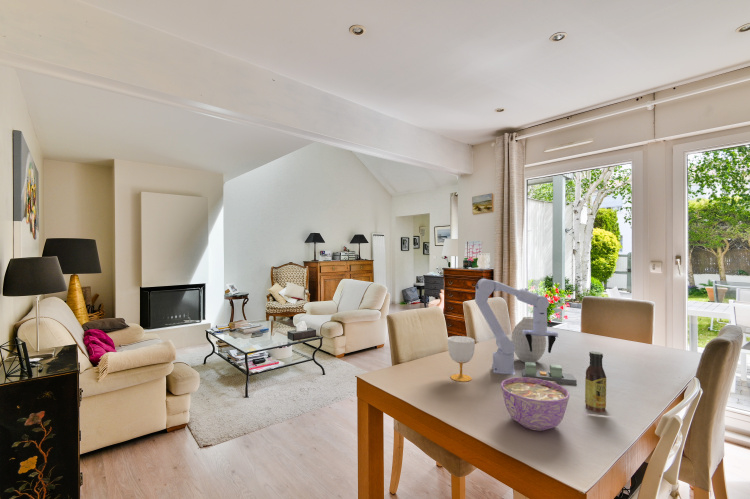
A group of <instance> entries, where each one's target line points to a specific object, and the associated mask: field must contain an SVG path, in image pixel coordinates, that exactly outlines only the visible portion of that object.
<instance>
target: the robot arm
mask: <svg viewBox="0 0 750 499" xmlns="http://www.w3.org/2000/svg"><path fill="white" fill-rule="evenodd" d="M500 291H501V292H504V293H507V294H509V295H512V296H514V297H516V299H517V301H520V302H522V303H525V304H527V305H530V306H532V307H533V308H532V309H533V310H532V317H533V330H523V335H525V336H526V338H527V341H528V343H529V347H530V351H531V352H532V336H531V335H536V336H545V337H547V340H548V343H547V344H548V346H547V352H548V353H549V354H551V353H552V348H553V345H554V343H555V342H556V340H557V339H556V338H559V333H558V331H550V330H549V331H548V309H547V308H548V307H549V306H550V302H549V299H547V297H546V296H543V295H540V294H539V293H538V292H533V291H530V290H529V289H528V288H520V289H517V288H514V287H512V286H509V285H507V284H505V283H503V282H500V281H496V280H492V279H487V278H481V279H479V280H478V281H477V282H476V285H475V296H474V297H475V298H474V302H475V304H476V306H477V307H478V309H479V311H480V313H481V314H482V316H483V317H484V320H485V322H486V323H487V325H488V327H489V329H490V330H491V332H492V334H493V337H494V339H495V344H496V346H497V350H496V351H492V364H491V368H492V372H493V374H503V375H512V376H514V375H516V371H515V356H514V355H515V352H514V351H515V345H514V343H513V342H512V341H511V340H510V339H509V337H508V336H507V333H505V331H504V329H503V327H502V326H501V324H500V322H499V320H498V319H497V317H496V315H495V314H494V312H493V309H492V307H491V306H490V305H489V302H488V300H489V299H490V298H489V297H490V295H492V293H493V292H495V293H496V292H500Z"/></svg>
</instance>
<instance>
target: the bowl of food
mask: <svg viewBox="0 0 750 499" xmlns="http://www.w3.org/2000/svg"><path fill="white" fill-rule="evenodd" d="M500 383H501V384H500V387H501V391H502V396H503V401H504V404H505V407H506V411H507V412H508V414H509V415H510V417H511V418H512V419H513V420H514V421H515V422H517V423H518V424H520V425H521V426H523V427H524V428H526V429H528V430H533V431H539V432H541V431H547V430H550V429H553V428H555V427H558V426H559V424H561V423H562V421H563V420H564V416H565V414H566V411H567V407H568V403H569V399H570V392H569V390H567V389H566V388H565V387H563V386H561V385H560V384H559V383H557V384H555V383H552V382H549V381H546V380H541V379H536V378H526V377H523V376H522V377H520V376H519V377H510V378H506V379H504V380H502V382H500Z"/></svg>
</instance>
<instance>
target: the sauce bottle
mask: <svg viewBox="0 0 750 499" xmlns="http://www.w3.org/2000/svg"><path fill="white" fill-rule="evenodd" d="M588 355H589V365H588V366H587V368H586V370H585V384H584V386H585V388H584V389H585V390H584V391H585V392H584V403H585V408H586V409H588V410H589V411H592V412H595V413H597V412H598V413H604V412H605V411H606V408H607V376H606V372H605V370H604V367H603V357H604V354H603V353H602V352H600V351H599V352H598V351H594V350H593V351H589V354H588Z"/></svg>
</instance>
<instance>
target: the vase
mask: <svg viewBox="0 0 750 499" xmlns="http://www.w3.org/2000/svg"><path fill="white" fill-rule="evenodd" d="M523 330H533V316H523V317H522V319H521V320H520V321H519V322H517V324H516V325H515V326H514V328H513V330H512V332H511V336H510V339H511V340H510V341H512V342H513V343H514V345H515V351H514V355H515V356H516V357H517V358H518V359H519V360H520V361H521V362H522V363H524V364H525V362H532V363H535V364H536V363H537V362H538V361H540V359H541V358H542V357H543V356H544V354H545V351H546V347H547V338H546V337H547V336H536V335H531V336H532V352H531V351H530V347H529V343H528V341H527V338H526V336H525V335H523Z"/></svg>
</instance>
